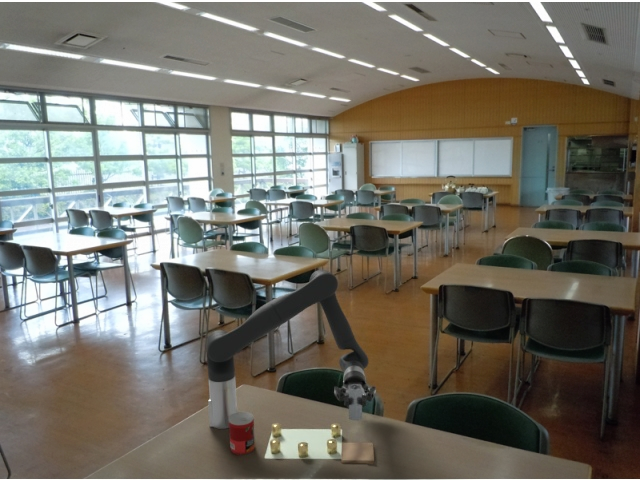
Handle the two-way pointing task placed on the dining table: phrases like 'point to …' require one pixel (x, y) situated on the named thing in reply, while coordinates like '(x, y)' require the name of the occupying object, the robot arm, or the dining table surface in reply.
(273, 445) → the spacers
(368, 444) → the tray
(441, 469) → the dining table surface
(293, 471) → the dining table surface
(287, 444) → the parts mat
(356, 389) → the grey hexagonal metal post
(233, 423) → the canned food
